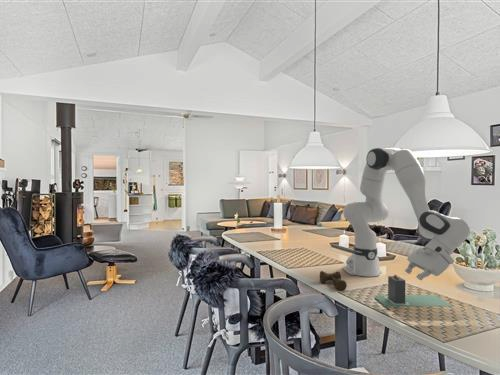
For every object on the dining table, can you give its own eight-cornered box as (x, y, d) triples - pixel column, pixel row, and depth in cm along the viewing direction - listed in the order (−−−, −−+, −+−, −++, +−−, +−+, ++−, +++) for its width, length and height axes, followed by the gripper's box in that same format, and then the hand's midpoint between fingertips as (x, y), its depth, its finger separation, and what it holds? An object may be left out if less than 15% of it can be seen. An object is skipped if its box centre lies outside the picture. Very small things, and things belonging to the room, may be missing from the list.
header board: (374, 298, 145) (374, 295, 145) (434, 298, 145) (434, 294, 145) (387, 310, 132) (387, 306, 132) (453, 309, 132) (453, 305, 132)
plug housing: (388, 297, 142) (388, 273, 142) (397, 297, 142) (397, 273, 142) (395, 303, 135) (395, 278, 135) (405, 303, 135) (405, 277, 135)
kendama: (331, 292, 155) (316, 279, 175) (351, 292, 156) (334, 279, 176) (332, 279, 155) (316, 267, 174) (352, 279, 156) (334, 267, 176)
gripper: (418, 241, 149) (395, 263, 149) (445, 250, 129) (419, 276, 129) (428, 251, 149) (405, 274, 149) (457, 262, 129) (431, 288, 129)
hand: (412, 275), depth 139 cm, fingers open, 8 cm apart
